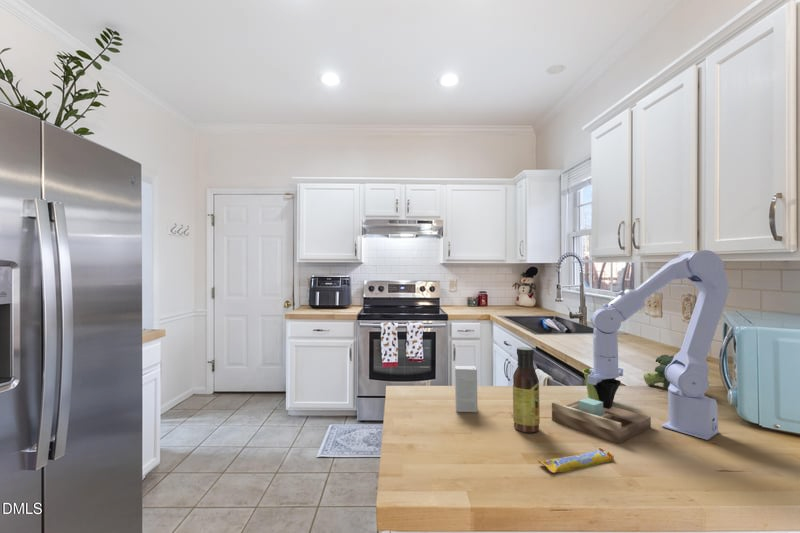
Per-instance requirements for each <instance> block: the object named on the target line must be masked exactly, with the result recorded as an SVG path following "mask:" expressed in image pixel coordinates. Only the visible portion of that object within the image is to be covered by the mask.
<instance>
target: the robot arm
mask: <svg viewBox="0 0 800 533" xmlns="http://www.w3.org/2000/svg"><path fill="white" fill-rule="evenodd" d="M725 266H726V263H725V262H724V260H723V259H722V258H721V257H720V256H719V255H718V254H717V253H716V252H714V251H712V250H709V249H702V250H701V249H700V250H698V251H697V250H696V251H684V252H682V253H680V254H679V255H678V256H677V257H676V258H673V259H671V260H669V261H667V263H666V264H664V265H663V266H662V267H660V268H659V269H658V270H657V271H655V273H653V274H652V275H651V276H650V277H648V279H646V280H645V281H644V282H642V283H641V284H640V285H638V286H637V287H636V288H635V289H629V288H626V289H625V290H620V291H619V292H617V296H616V297H615V298H614V299H612V300H611V301H610V302H608V303H604V304H602V307H603V308H598V309H596V310H595V311H594V312H593V313H592V316H591V318H590V322H591V325H592V326H593V336H592V338H593V339H592V345H593V346H592V347H593V349H592V351H593V352H592V353H593V356H592V357H593V362H592V364H593V368H594V369H590V370H589V372H591V374H590V375H588V376H587V383H588V384H593V386H594V387H595V389H596V392H597V394H598V397H599V401H601V402H603V408H607V409H610V408H611V407H612V406H613V403H614V398H615V396H616V393H617V391H618V389H619V387H620V385H621V380H619V378H620V377H623V376H624V368H620V367H619V339H618V331H619V329H620V328H621V325H622V323H623V322H625V321H627V320H628V319H630V318H631V317H632V316H633V315H635V314H636V313H638V312H639V311H640V310H641V309H643V308H644V307H645V305H646V299H648V298H649V297H650V296H652V295H654V294H655V293H656V292H658V291H660V290H661V289H662V288H664V287H665V286H666V285H668V284H670V283H671V282H673V281H674V280H679V279H688V280H689V281H691V282H692V283H693V285H694V286H695V287H696V289H697V290H698V292H699V293H698V296H697V298H696V301H695V305H694V307H693V311H692V314H691V317H690V320H689V323H688V326H687V328H686V333H685V336H684V338H683V342H682V344H681V347H680V350H679V351H678V352H677V353H675V355H674V358H673V360H672V362H671V363H670V364H669V365H668V366H667V367H666V368H665V377H666V379H667V380H668V381H669V382H670V385H669V387H668V390H667V403H668V404H667V406H668V407H667V410H668V415H667V416H668V421H666V422H665V423H662V424H661V427H663V428H666V429H668V430H672V431H676V432H679V433H682V434H685V435H689V436H692V437H696V438H700V439H703V440H705V441H709V440H710V439H711V438H713V437H714V436H716V435H717V434H719V433H720V430H719V409H718V408H719V407H718V401H717V400H716V399H715V398H711V397H708V396H706V395H705V393H706V392H707V391H708V390H709V387H710V381H709V378H708V376H709V372H710V367H709V364H708V362H707V358H708V354H709V352H710V349H711V346H712V342H713V340H714V336H715V334H716V332H717V327H718V325H719V322H720V318H721V316H722V313H723V310H724V307H725V304H726V302H727V298H728V295H729V291H730V284H729V282H728V278H727V275H726V271H725ZM614 378H616V379H614Z"/></svg>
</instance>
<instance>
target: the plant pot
mask: <svg viewBox="0 0 800 533" xmlns="http://www.w3.org/2000/svg"><path fill="white" fill-rule="evenodd" d="M590 369H594V367H591V368H590V367H589V368H583V369H582V373H583V376H584V379H585V384H586V390H587V396H588V397H587V398H590V399H594V400H597V401H599V397H598V394H597V392H596V389H595V387H594V386H593V384H588V383H587V376H588V375H590V374H591V372H589V370H590ZM614 379H615V380H617V378H614Z"/></svg>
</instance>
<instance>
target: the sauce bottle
mask: <svg viewBox="0 0 800 533" xmlns="http://www.w3.org/2000/svg"><path fill="white" fill-rule="evenodd" d="M534 354H535V351H534V348H532V347H525V346H521V347H517V348H516V355H517V367H516V369H515V370H514V371H513V372H514V373H513V375H512V379H513V380H512V382H513V384H512V411H513V412H512V413H513V414H512V415H513V416H512V418H513V420H512V421H513V427H514V428H515V430H518V431H519V432H522V433H535V432H538V431H539V429H540V423H541V422H540V420H541V419H540V418H541V417H540V380H539V377H538V375H537V372H536V369H535V367H534Z"/></svg>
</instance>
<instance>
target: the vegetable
mask: <svg viewBox="0 0 800 533" xmlns="http://www.w3.org/2000/svg"><path fill="white" fill-rule="evenodd" d="M674 356H675V355H669V354H661V355H660V356H657V357H656V358H655V363H658V364H659V365H657V366H656V367H654V372H647V373H644V374H643V380H644V382H645V384H646V385H647V386H654V385H656V384H660V383H661V384H662V386H663V388H664V389H665V390H666V391H668V387H669V385H670V382H669V381H668V380H667V379H666V377H665V368H666V367H667V366H668V365H669V364H670V363H671V362H672V360H673V358H674Z"/></svg>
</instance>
